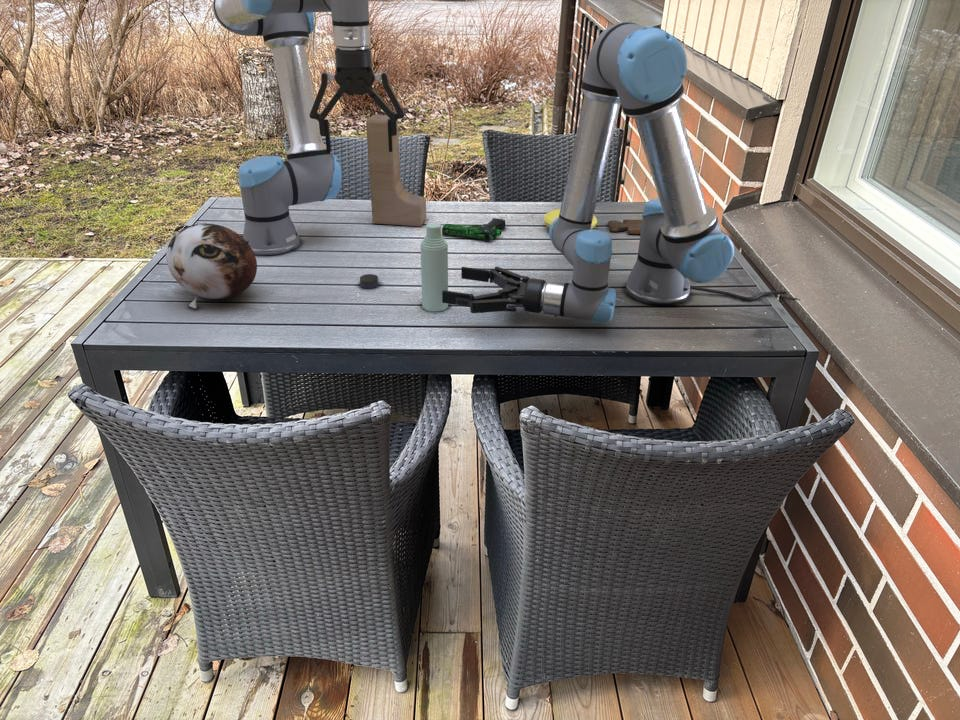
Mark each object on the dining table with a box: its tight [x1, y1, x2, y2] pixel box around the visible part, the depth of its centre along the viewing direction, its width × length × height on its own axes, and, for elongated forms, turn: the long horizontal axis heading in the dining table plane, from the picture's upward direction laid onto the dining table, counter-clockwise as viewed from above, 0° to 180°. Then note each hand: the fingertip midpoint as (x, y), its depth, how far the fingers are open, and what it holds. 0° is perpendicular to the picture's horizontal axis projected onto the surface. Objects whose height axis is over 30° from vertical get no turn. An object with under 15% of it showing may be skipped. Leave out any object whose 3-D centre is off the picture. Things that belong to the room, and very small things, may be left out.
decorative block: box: [365, 114, 427, 227], centre depth 207 cm, size 8×15×30 cm, turn 82°
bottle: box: [419, 222, 449, 312], centre depth 161 cm, size 6×6×20 cm
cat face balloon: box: [165, 222, 258, 309], centre depth 165 cm, size 22×18×20 cm
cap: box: [359, 273, 380, 290], centre depth 175 cm, size 4×4×2 cm
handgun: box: [441, 217, 506, 242], centre depth 207 cm, size 16×3×15 cm
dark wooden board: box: [607, 219, 642, 235], centre depth 211 cm, size 26×2×10 cm
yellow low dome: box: [543, 208, 598, 230], centre depth 209 cm, size 16×16×7 cm
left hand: (360, 150), depth 159 cm, fingers open, 13 cm apart
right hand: (452, 284), depth 162 cm, fingers open, 13 cm apart
